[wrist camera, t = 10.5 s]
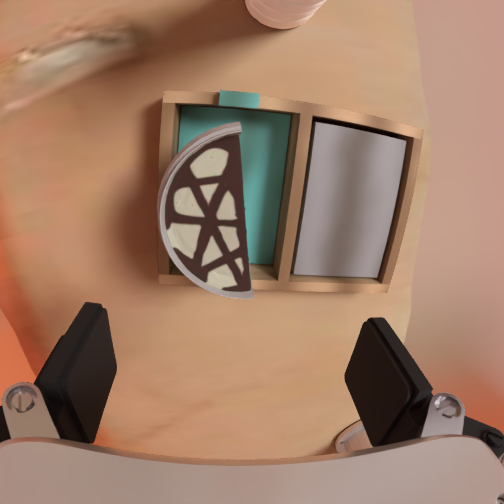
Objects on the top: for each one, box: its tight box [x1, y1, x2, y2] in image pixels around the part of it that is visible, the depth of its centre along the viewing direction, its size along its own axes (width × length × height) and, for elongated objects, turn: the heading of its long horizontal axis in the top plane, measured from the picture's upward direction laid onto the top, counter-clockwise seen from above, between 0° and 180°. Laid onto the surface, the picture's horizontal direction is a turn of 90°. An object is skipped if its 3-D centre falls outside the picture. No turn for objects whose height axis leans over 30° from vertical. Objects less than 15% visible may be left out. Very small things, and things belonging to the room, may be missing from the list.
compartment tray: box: [157, 90, 424, 293], centre depth 28 cm, size 23×17×4 cm
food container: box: [157, 122, 254, 299], centre depth 24 cm, size 12×6×10 cm, turn 4°
